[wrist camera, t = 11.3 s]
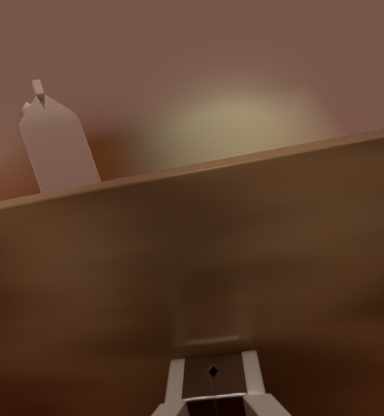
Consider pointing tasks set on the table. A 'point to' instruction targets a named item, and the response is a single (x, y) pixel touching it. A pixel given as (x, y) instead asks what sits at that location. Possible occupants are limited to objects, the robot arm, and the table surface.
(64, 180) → the milk
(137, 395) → the drawer
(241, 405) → the robot arm
